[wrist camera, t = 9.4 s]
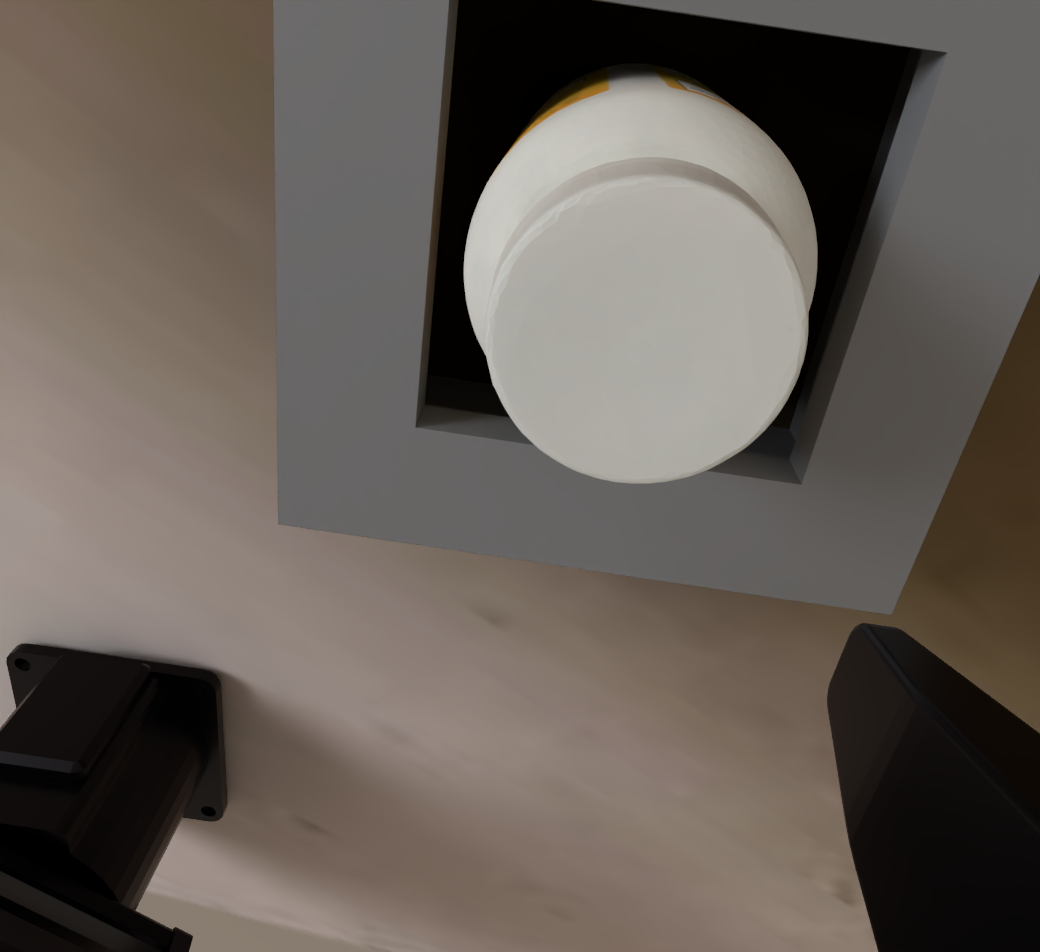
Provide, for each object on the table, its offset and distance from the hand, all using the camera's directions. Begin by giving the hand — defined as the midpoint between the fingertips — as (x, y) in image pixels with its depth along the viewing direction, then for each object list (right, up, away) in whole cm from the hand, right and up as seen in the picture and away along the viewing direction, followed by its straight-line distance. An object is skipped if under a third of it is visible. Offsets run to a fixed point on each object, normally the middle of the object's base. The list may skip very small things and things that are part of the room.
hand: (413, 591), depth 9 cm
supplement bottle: (+3, +7, +10) cm, 13 cm away
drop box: (+3, +7, +10) cm, 13 cm away
